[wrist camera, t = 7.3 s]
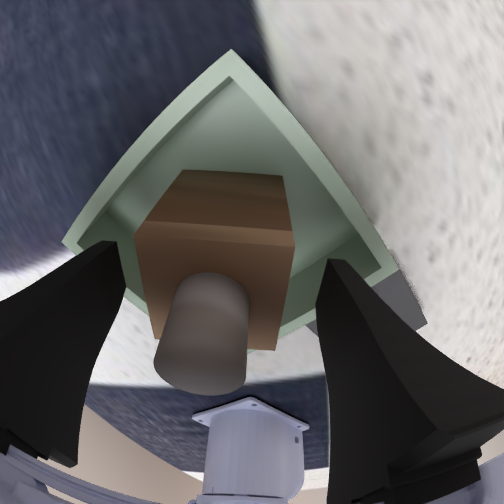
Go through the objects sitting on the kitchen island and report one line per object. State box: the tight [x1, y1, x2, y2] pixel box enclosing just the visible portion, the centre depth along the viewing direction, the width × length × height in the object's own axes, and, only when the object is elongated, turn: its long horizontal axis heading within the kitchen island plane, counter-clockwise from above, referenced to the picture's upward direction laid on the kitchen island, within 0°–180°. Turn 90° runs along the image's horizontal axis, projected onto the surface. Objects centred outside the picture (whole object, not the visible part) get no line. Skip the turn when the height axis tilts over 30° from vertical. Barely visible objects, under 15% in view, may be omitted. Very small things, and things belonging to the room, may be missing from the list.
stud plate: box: [306, 269, 428, 336], centre depth 15 cm, size 6×6×5 cm
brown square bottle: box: [134, 170, 295, 395], centre depth 10 cm, size 4×4×8 cm
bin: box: [62, 49, 399, 354], centre depth 12 cm, size 10×10×4 cm
